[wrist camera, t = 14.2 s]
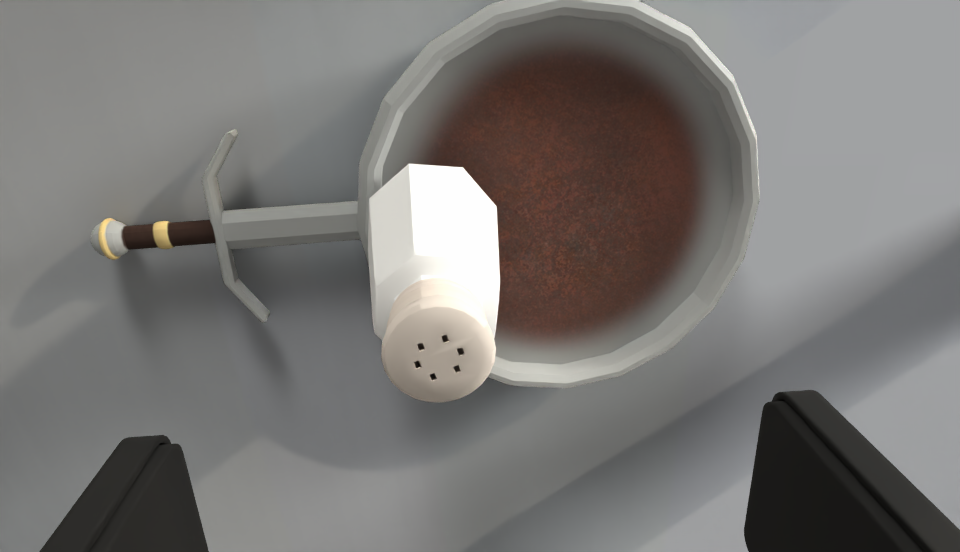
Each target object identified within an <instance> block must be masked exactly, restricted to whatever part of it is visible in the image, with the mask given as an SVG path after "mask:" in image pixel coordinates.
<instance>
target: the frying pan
mask: <svg viewBox="0 0 960 552" xmlns="http://www.w3.org/2000/svg"><path fill="white" fill-rule="evenodd" d="M237 136H238V134H237V130H236V129H233V130H232V131H230V132H228V133H226V134H224V136H223V138H222V140H221V142H220V144H219V146H218V148H217V150H216V152H215V154H214V156H213V158H212V160H211V162H210V164H209V166H208V168H207V169H206V171H205V173H204V175H203V177H202V185H203V190H204V195H205V199H206V204H207V208H208V213H209V218H210V220H201V221H187V222H174V223H171V222H168V221H159V222H156V223H154V224H147V225H134V226H126V225H125V224H123V223H121V222H118V221H116V220H114V219H111V218H108V219H105V220H104V221H103V222H102V223H100V224H98V225H97V226H96V227H95V228H94V229H93V231H92V233H91V244H92V246H93V248H94V249H95V250H96V251H97V252H98V253H99V254H101V255H103V256H106V257H107V258H109V259H112V260H115V259H118V258H119V257H120V256H122V255H124V254H126V253H127V252H128V251H129V250H130V249H143V248H156V247H158V248H161V249H170V248H173V247H175V246H182V245H195V244H208V243H215V245H216V250H217V254H218V259H219V264H220V268H221V273H222V277H223V282H224V284H225V286H226V287H227V288H228V289H229V290H230V291H231V292H232V293H233V294H234V295H235V296H236V297H237V298H238V299H239V300H240V301H241V302H242V303H243V304H244V305H245V306H246V307H247V308H248V309H249V310H250V311H251V312H252V313H253V314H254V315H255V316H256V318H257V319H258V320H259V321H261V322H262V323H266V321H267V319H268V317H269V315H270V311H269V310H268V309H267V308H266V307H265V306H264V305H263V304H262V303H261V302H260V301H259V300H258V299H257V298H256V297H255V296H254V294H253V293H252V292H251V291H250V290H249V289H248V288H247V287H246V286H245V285H244V284H243V283H242V282H241V281H240V280H239V279H238V276H237V271H236V266H235V261H234V257H233V252H232V249H242V248H255V247H268V246H281V245H294V244H307V243H320V242H333V241H346V240H359V239H361V242H362V245H363V248H364V252H365V255H366V258H367V262H368V265H369V259H368V224H369V198H370V197H371V196H373V195H374V194H375V193H376V192H377V191H378V190H379V189H381V188H382V187H383V186H384V185H385V184H386V183H387V182H388V181H390V180H391V179H392V178H393V177H394V176H395V175H396V174H398V173H399V172H400V171H401V170H402V169H403V168H404V167H406V166H407V165H408V164H422V165H436V166H450V167H463V168H464V169H465V171H466V172H467V173H468V174H469V175H470V176H471V177H472V179H473V180H474V181H475V182H476V183H477V184H478V186H479V187H480V188H481V189H482V190H483V191H484V192H485V194H486V195H487V196H488V197H489V198H490V199H491V201H492V202H493V203H494V204H495V205H496V206H497V225H498V248H499V270H500V291H499V305H498V315H497V324H496V332H495V338H494V341H495V346H496V353H495V362H494V365H493V367H492V369H491V372H490V374H489V376H488V378H491V379H493V380H496V381H499V382H502V383H505V384H508V385H511V386H528V387H548V388H571V387H575V386H580V385H584V384H588V383H593V382H597V381H601V380H605V379H610V378H614V377H618V376H622V375H624V374H626V373H628V372H629V371H631V370H633V369H635V368H637V367H639V366H641V365H642V364H644V363H646V362H648V361H650V360H652V359H654V358H655V357H657V356H659V355H661V354H663V353H665V352H667V351H669V350H670V349H672V348H673V347H674V346H675V345H676V344H677V343H678V342H679V341H680V340H681V339H683V338H684V337H685V336H686V335H687V334H688V333H689V332H690V331H691V330H692V329H693V328H694V327H695V326H696V325H697V324H698V323H699V322H701V321H702V320H703V319H704V318H705V317H706V316H707V315H708V314H709V313H710V312H711V311H712V310H713V309H714V308H715V306H716V304H717V303H718V301H719V299H720V298H721V296H722V294H723V293H724V291H725V289H726V288H727V286H728V285H729V283H730V281H731V280H732V278H733V276H734V275H735V273H736V271H737V270H738V268H739V266H740V265H741V263H742V261H743V260H744V257H745V253H746V250H747V246H748V242H749V238H750V234H751V230H752V227H753V223H754V219H755V215H756V211H757V208H758V204H759V197H760V195H759V175H758V155H757V135H756V132H755V129H754V127H753V124H752V122H751V119H750V117H749V114H748V112H747V109H746V107H745V104H744V102H743V99H742V97H741V94H740V92H739V89H738V87H737V84H736V82H735V79H734V77H733V75H732V74H731V73H730V72H729V70H728V69H727V68H726V67H725V66H724V65H723V64H722V63H721V62H720V60H719V59H718V58H717V57H716V56H715V55H714V54H713V53H712V52H711V50H710V49H709V48H708V47H707V46H706V45H705V44H704V43H703V42H702V40H701V39H700V38H699V37H698V36H697V35H696V34H695V33H694V32H693V30H692V29H691V28H690V27H688V26H686V25H684V24H682V23H680V22H679V21H677V20H675V19H673V18H671V17H669V16H667V15H665V14H663V13H661V12H659V11H657V10H655V9H653V8H651V7H649V6H648V5H646V4H644V3H642V2H640V1H638V0H506V1H502V2H497V3H493V4H489V5H488V6H486V7H485V8H483V9H481V10H480V11H478V12H477V13H475V14H474V15H472V16H470V17H469V18H467V19H466V20H464V21H462V22H461V23H459V24H458V25H456V26H454V27H453V28H451V29H450V30H448V31H446V32H445V33H443V34H442V35H440V36H439V37H437V38H435V39H434V40H432V41H431V42H429V43H428V44H427V45H426V46H425V48H424V49H423V50H422V51H421V53H420V54H419V55H418V56H417V57H416V59H415V60H414V61H413V62H412V64H411V65H410V66H409V67H408V68H407V70H406V71H405V72H404V73H403V75H402V76H401V77H400V78H399V79H398V81H397V82H396V83H395V84H394V86H393V87H392V88H391V89H390V91H389V92H388V93H387V94H386V95H385V97H384V98H383V100H382V103H381V106H380V108H379V111H378V113H377V116H376V119H375V121H374V124H373V127H372V129H371V132H370V135H369V137H368V140H367V143H366V145H365V148H364V151H363V153H362V156H361V159H360V161H359V182H358V201H349V202H336V203H322V204H309V205H295V206H282V207H268V208H255V209H241V210H228V211H224V209H223V204H222V199H221V194H220V189H219V185H218V180H217V174H218V172H219V170H220V168H221V166H222V165H223V163H224V161H225V159H226V157H227V155H228V153H229V151H230V149H231V147H232V145H233V143H234V141H235V139H236V137H237Z"/></svg>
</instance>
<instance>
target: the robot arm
mask: <svg viewBox="0 0 960 552" xmlns="http://www.w3.org/2000/svg"><path fill="white" fill-rule="evenodd" d="M744 536H745V542H746V545H747V548H748V551H749V552H960V530H959V529H958V528H957V527H956V526H955V525H954V524H953V523H952V522H951V521H950V520H949V519H948V518H947V517H946V516H945V515H944V514H943V513H942V512H941V511H940V510H939V509H938V508H937V507H936V506H935V505H934V504H933V503H932V502H931V501H930V500H928V499H927V498H926V497H925V496H924V495H923V494H922V493H921V492H920V491H919V490H918V489H917V488H916V487H915V486H914V485H913V484H912V483H911V482H910V481H909V480H908V479H907V478H906V477H905V476H904V475H903V474H902V473H901V472H900V471H899V470H898V469H897V468H896V467H895V466H894V465H893V464H892V463H891V462H889V461H888V460H887V459H886V458H885V457H884V456H883V455H882V454H881V453H880V452H879V451H878V450H877V449H876V448H875V447H874V446H873V445H872V444H871V443H870V442H869V441H868V440H867V439H866V438H865V437H864V436H863V435H862V434H861V433H860V432H859V431H858V430H857V429H856V428H855V427H854V426H853V425H851V424H850V423H849V422H848V421H847V420H846V419H845V418H844V417H843V416H842V415H841V414H840V413H839V412H838V411H837V410H836V409H835V408H834V407H833V406H832V405H831V404H830V403H829V402H828V401H827V400H826V399H825V398H824V397H823V396H822V395H821V394H819V393H818V392H817V391H814V390H804V391H790V392H779V393H777V394H775V396H774V397H773V400H772V402H767V403H766V404H765V405H764V407H763V411H762V418H761V424H760V430H759V437H758V443H757V450H756V456H755V463H754V469H753V475H752V482H751V488H750V495H749V501H748V508H747V514H746V521H745V527H744ZM40 552H209V551H208V547H207V543H206V540H205V536H204V532H203V528H202V524H201V520H200V516H199V512H198V508H197V505H196V501H195V497H194V493H193V489H192V485H191V481H190V477H189V474H188V470H187V466H186V462H185V458H184V454H183V451H182V448H181V446H180V445H179V444H171V442H170V440H169V439H168V437H167V436H164V435H157V436H143V437H128V438H125V439H123V440H122V441H121V442H120V443H119V445H118V446H117V447H116V449H115V450H114V451H113V453H112V454H111V455H110V457H109V458H108V459H107V461H106V462H105V464H104V465H103V466H102V468H101V469H100V470H99V472H98V473H97V474H96V476H95V477H94V478H93V480H92V481H91V483H90V484H89V485H88V487H87V488H86V489H85V491H84V492H83V493H82V495H81V496H80V498H79V499H78V500H77V502H76V503H75V504H74V506H73V507H72V508H71V510H70V511H69V512H68V514H67V515H66V517H65V518H64V519H63V521H62V522H61V523H60V525H59V526H58V527H57V529H56V530H55V531H54V533H53V534H52V536H51V537H50V538H49V540H48V541H47V542H46V544H45V545H44V546H43V548H42V549H41V550H40Z"/></svg>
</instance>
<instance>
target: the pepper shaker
mask: <svg viewBox="0 0 960 552" xmlns="http://www.w3.org/2000/svg"><path fill="white" fill-rule="evenodd" d="M368 259H369V274H370V289H371V304H372V320H373V327H374V332H375V334H376V335H377V336H378V337H379V338H380V339H381V340H382V341H383V342H382V352H381V359H382V362H383V366H384V370H385V372H386V374H387V375H388V377H389V379H390V380H391V382H392V383H393V384H394V385H395V386H396V387H397V388H398V389H400V390H401V391H402V392H403V393H405V394H407V395H409V396H411V397H413V398H415V399H418V400H422V401H426V402H448V401H453V400H457V399H459V398H462V397H464V396H466V395H468V394H470V393H472V392H473V391H474V390H475V389H477V388H478V387H479V386H481V385H482V383H483V382H484V381H485V379H486V378H487V377H488V376H489V374H490V372H491V369H492V367H493V365H494V362H495V353H496V346H495V341H494V338H495V332H496V324H497V315H498V305H499V291H500V270H499V248H498V225H497V206H496V205H495V204H494V203H493V202H492V201H491V199H490V198H489V197H488V196H487V195H486V194H485V192H484V191H483V190H482V189H481V188H480V187H479V186H478V184H477V183H476V182H475V181H474V180H473V179H472V177H471V176H470V175H469V174H468V173H467V172H466V171H465V169H464V168H463V167H450V166H436V165H422V164H408V165H407V166H406V167H404V168H403V169H402V170H401V171H400V172H399V173H398V174H396V175H395V176H394V177H393V178H392V179H391V180H390V181H388V182H387V183H386V184H385V185H384V186H383V187H382V188H381V189H379V190H378V191H377V192H376V193H375V194H374V195H373V196H371V197H370V198H369V224H368Z"/></svg>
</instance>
